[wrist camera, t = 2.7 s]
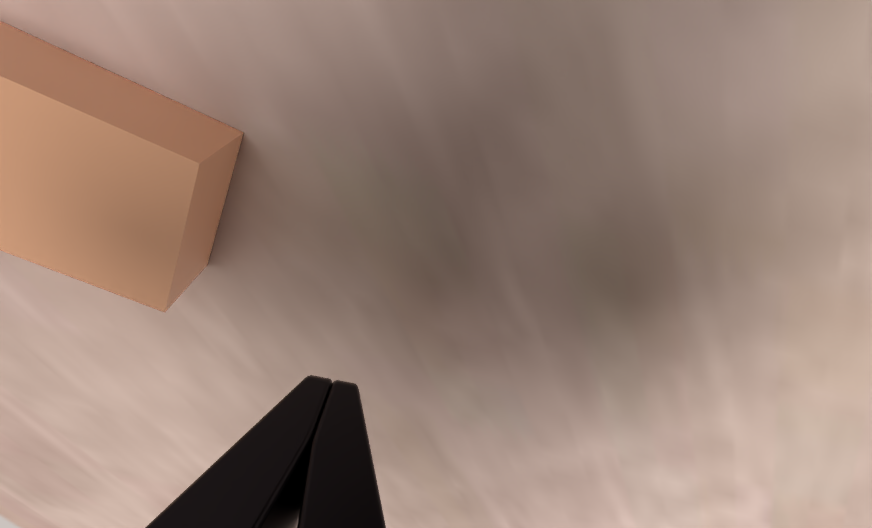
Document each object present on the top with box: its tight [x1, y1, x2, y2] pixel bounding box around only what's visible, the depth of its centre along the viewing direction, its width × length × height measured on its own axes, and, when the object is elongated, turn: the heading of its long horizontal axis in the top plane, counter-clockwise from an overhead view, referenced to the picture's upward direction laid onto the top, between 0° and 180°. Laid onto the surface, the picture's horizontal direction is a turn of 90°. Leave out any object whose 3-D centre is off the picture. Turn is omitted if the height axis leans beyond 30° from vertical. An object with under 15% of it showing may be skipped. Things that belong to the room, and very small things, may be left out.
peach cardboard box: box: [0, 21, 244, 312], centre depth 13 cm, size 8×5×3 cm, turn 64°
